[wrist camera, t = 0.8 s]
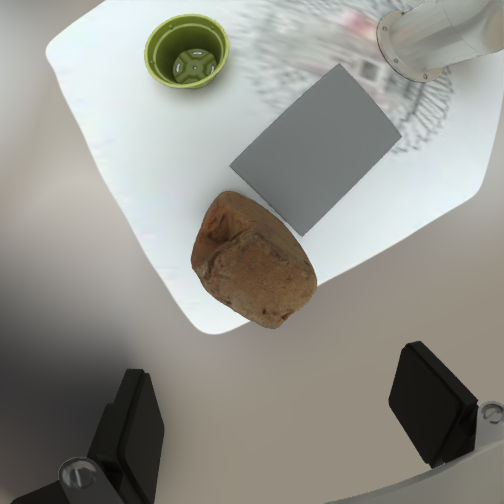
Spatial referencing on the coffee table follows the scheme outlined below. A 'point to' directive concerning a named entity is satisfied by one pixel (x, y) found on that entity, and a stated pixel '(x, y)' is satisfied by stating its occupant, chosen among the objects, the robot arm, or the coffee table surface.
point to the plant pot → (186, 51)
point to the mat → (317, 149)
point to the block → (252, 261)
